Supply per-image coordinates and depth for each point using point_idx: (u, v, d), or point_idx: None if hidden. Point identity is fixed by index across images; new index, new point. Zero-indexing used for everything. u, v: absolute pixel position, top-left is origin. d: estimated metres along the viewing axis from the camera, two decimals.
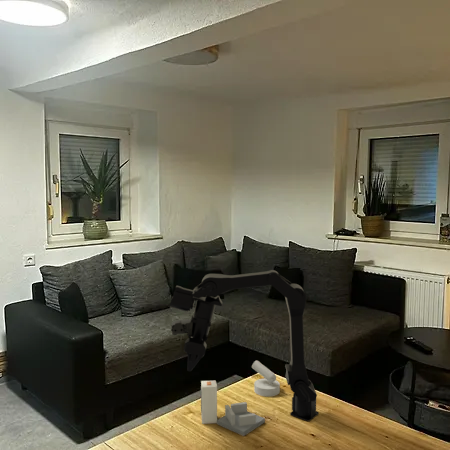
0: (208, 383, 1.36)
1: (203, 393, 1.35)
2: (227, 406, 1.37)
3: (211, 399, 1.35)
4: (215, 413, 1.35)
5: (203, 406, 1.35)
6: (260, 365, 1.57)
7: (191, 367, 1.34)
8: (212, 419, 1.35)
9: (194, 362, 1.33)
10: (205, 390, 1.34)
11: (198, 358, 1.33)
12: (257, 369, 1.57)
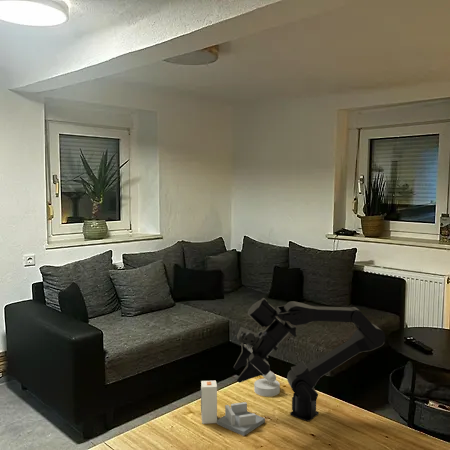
0: (208, 383, 1.36)
1: (203, 393, 1.35)
2: (227, 406, 1.37)
3: (211, 399, 1.35)
4: (215, 413, 1.35)
5: (203, 406, 1.35)
6: None
7: (242, 379, 1.32)
8: (212, 419, 1.35)
9: (248, 376, 1.32)
10: (205, 390, 1.34)
11: (254, 375, 1.31)
12: None
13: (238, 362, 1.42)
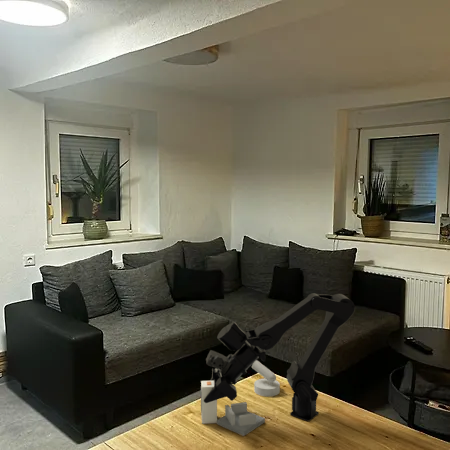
0: (208, 383, 1.36)
1: (203, 393, 1.34)
2: (227, 406, 1.37)
3: None
4: (215, 413, 1.35)
5: (203, 406, 1.35)
6: (260, 365, 1.57)
7: (209, 400, 1.34)
8: (212, 419, 1.35)
9: (215, 397, 1.34)
10: (205, 390, 1.34)
11: (221, 396, 1.33)
12: (257, 369, 1.57)
13: None
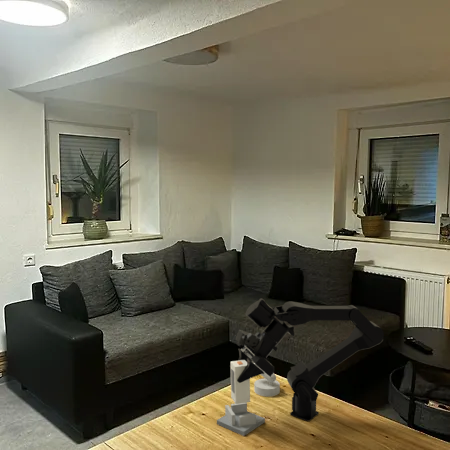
0: (239, 363, 1.34)
1: (236, 373, 1.32)
2: (227, 406, 1.37)
3: None
4: (248, 392, 1.34)
5: (236, 386, 1.33)
6: None
7: (243, 379, 1.32)
8: (245, 398, 1.34)
9: (249, 376, 1.32)
10: (238, 369, 1.32)
11: (255, 374, 1.32)
12: None
13: None
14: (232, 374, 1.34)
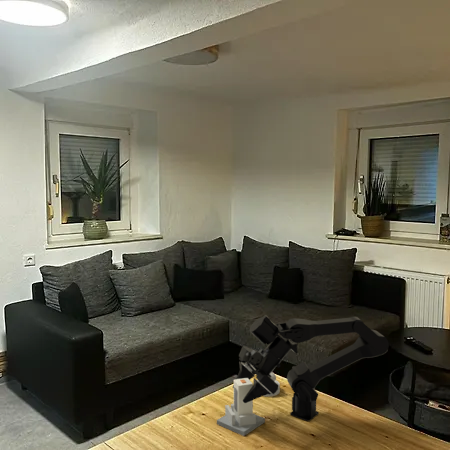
0: (242, 381, 1.35)
1: (239, 391, 1.33)
2: (227, 406, 1.37)
3: None
4: (251, 410, 1.34)
5: (239, 405, 1.33)
6: None
7: (249, 400, 1.30)
8: None
9: (255, 396, 1.30)
10: (242, 388, 1.33)
11: (261, 394, 1.30)
12: None
13: None
14: (235, 392, 1.35)
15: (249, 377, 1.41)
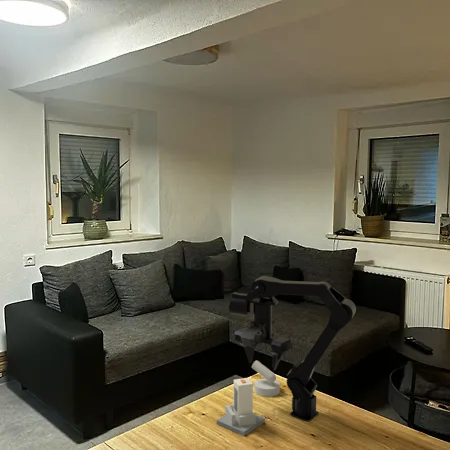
0: (242, 381, 1.35)
1: (239, 391, 1.33)
2: (227, 406, 1.37)
3: (247, 397, 1.34)
4: (251, 410, 1.34)
5: (239, 405, 1.33)
6: (260, 365, 1.57)
7: (276, 365, 1.42)
8: None
9: (279, 359, 1.41)
10: (242, 388, 1.33)
11: (282, 353, 1.42)
12: (257, 369, 1.57)
13: (249, 355, 1.47)
14: (235, 392, 1.35)
15: None
